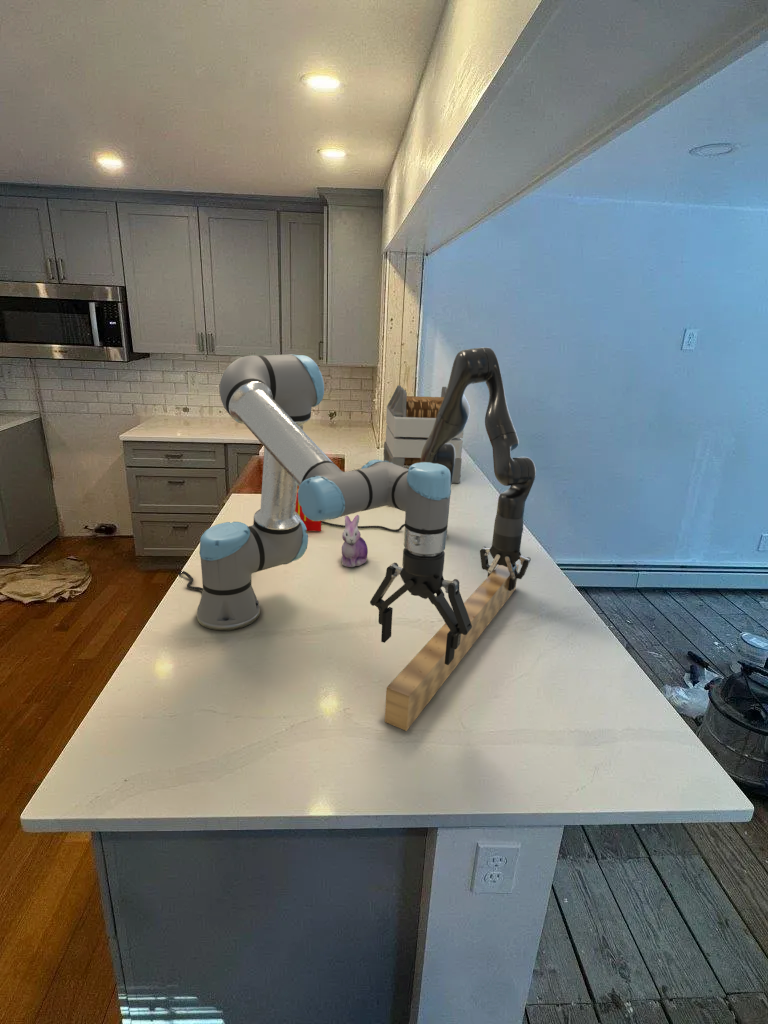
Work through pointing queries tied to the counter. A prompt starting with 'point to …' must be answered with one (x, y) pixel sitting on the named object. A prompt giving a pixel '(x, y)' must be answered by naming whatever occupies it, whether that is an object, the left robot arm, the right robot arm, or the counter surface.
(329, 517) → the left robot arm
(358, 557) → the figurine
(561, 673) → the counter surface
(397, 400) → the transformer
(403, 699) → the post
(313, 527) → the toy
